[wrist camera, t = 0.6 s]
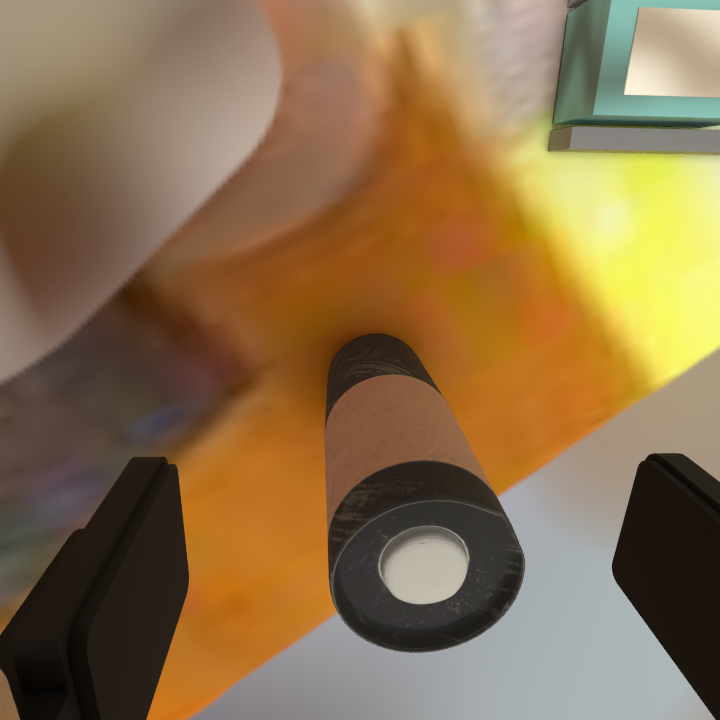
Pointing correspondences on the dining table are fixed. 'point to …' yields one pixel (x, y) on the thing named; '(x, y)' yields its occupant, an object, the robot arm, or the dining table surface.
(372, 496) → the travel mug
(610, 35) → the teal rectangular box
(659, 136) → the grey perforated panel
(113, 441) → the dining table surface
